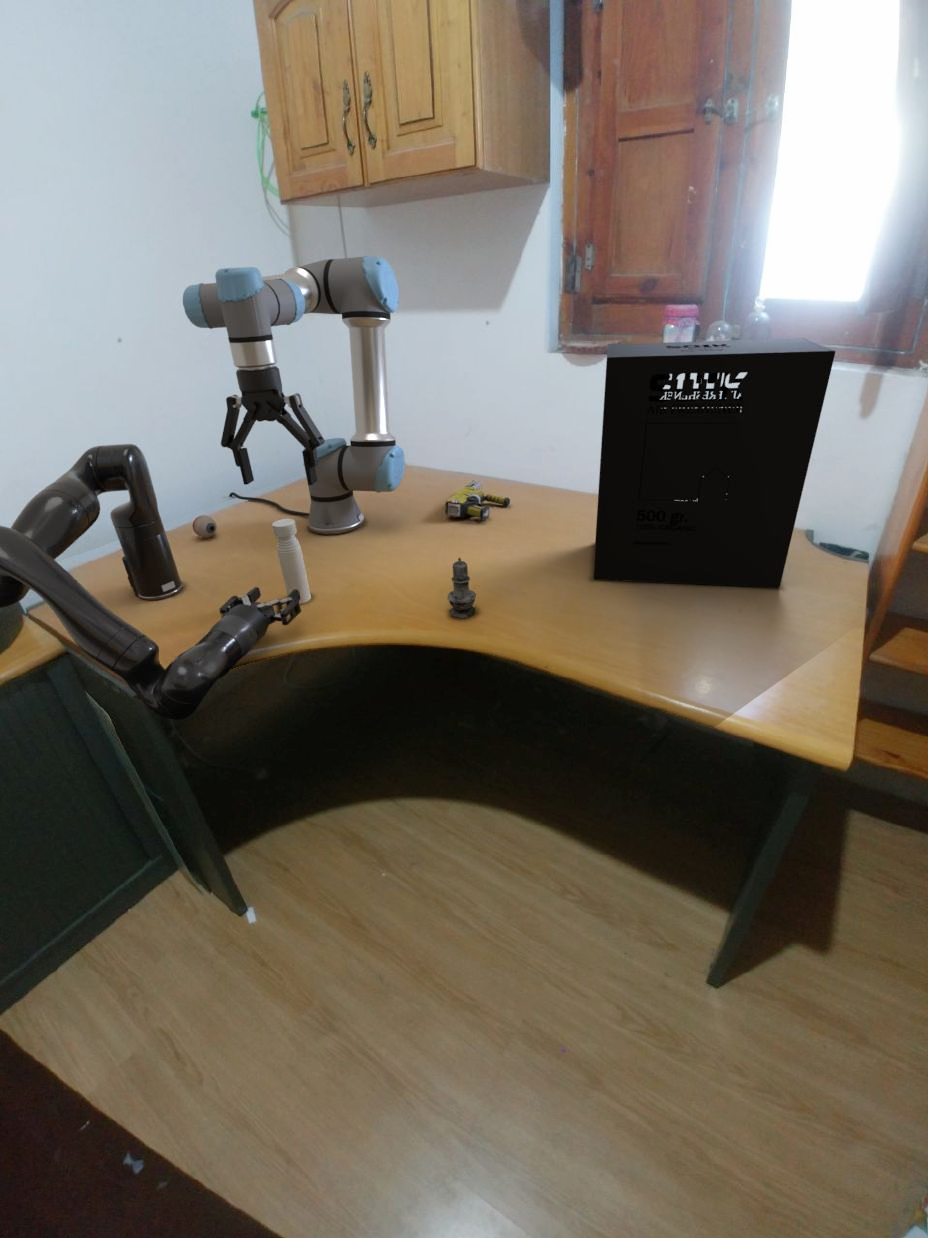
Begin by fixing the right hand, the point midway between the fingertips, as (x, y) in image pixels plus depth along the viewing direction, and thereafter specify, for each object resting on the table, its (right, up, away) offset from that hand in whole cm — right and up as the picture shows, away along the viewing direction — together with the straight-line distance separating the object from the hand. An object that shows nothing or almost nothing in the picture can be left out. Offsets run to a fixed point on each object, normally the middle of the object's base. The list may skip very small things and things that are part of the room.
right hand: (280, 482), depth 119 cm
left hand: (-1, -21, +3) cm, 22 cm away
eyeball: (-35, -4, +48) cm, 59 cm away
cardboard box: (+85, -14, +18) cm, 88 cm away
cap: (-1, -7, +4) cm, 8 cm away
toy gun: (+42, +6, +57) cm, 71 cm away
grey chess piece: (+36, -25, +4) cm, 44 cm away
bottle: (0, -22, +13) cm, 26 cm away
